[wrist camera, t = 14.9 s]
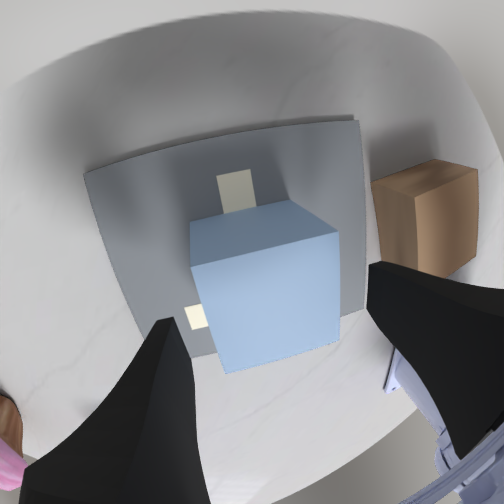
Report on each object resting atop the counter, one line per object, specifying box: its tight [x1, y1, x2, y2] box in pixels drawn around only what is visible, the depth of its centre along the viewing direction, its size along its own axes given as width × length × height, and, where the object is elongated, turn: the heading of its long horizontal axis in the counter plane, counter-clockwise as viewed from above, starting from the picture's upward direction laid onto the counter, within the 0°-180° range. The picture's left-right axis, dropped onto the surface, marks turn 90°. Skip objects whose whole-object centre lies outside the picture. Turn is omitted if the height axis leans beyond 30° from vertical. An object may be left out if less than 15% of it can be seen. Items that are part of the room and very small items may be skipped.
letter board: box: [83, 120, 366, 358], centre depth 15 cm, size 14×12×1 cm
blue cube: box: [190, 200, 340, 374], centre depth 12 cm, size 5×5×5 cm
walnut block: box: [370, 159, 479, 278], centre depth 15 cm, size 6×6×4 cm
